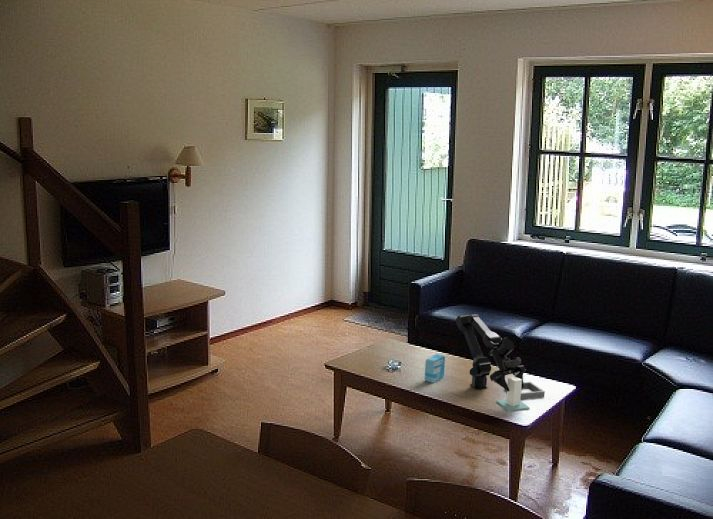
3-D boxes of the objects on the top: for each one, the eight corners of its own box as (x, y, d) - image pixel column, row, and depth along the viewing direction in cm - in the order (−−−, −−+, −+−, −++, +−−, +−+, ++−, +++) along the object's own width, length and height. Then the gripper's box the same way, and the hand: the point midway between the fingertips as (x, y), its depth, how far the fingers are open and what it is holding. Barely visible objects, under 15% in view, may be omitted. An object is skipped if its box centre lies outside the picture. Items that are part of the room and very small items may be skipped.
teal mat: (508, 411, 320) (508, 409, 320) (496, 402, 330) (496, 400, 330) (529, 409, 323) (529, 407, 323) (517, 400, 334) (517, 398, 333)
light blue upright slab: (431, 383, 350) (433, 361, 348) (424, 381, 353) (425, 359, 351) (444, 377, 360) (445, 355, 357) (436, 375, 362) (437, 353, 360)
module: (506, 403, 327) (508, 378, 325) (512, 401, 330) (515, 376, 327) (512, 406, 324) (515, 381, 321) (519, 404, 326) (522, 379, 323)
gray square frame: (518, 398, 335) (519, 394, 334) (505, 388, 347) (505, 384, 347) (544, 396, 339) (544, 391, 339) (530, 386, 351) (530, 381, 351)
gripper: (495, 354, 320) (511, 385, 313) (525, 348, 330) (540, 378, 323) (482, 365, 328) (497, 395, 321) (511, 359, 338) (526, 388, 331)
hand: (516, 389), depth 324 cm, fingers open, 9 cm apart
